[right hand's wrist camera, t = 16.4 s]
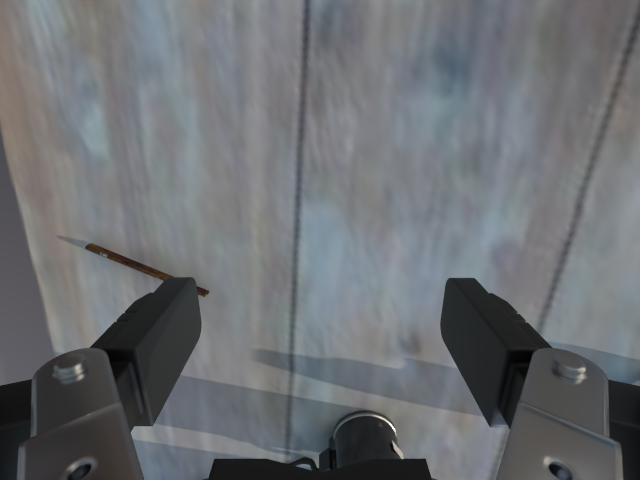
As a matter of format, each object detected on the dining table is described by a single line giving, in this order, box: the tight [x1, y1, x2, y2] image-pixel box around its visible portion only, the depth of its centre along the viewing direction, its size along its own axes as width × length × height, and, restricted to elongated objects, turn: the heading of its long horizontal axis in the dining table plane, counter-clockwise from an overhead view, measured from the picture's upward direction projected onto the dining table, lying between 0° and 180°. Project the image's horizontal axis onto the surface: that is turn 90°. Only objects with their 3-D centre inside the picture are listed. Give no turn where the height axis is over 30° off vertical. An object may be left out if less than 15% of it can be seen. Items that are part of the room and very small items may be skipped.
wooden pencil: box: [85, 243, 209, 297], centre depth 43 cm, size 15×1×1 cm, turn 64°
